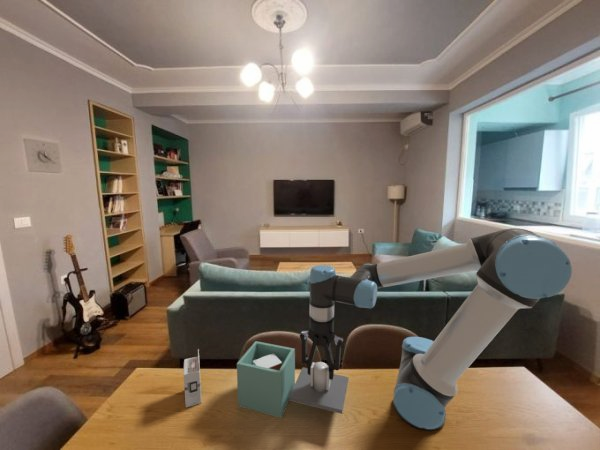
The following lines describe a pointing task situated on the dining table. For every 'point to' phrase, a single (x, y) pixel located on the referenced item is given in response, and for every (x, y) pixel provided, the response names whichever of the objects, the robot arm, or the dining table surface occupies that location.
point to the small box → (269, 362)
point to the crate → (266, 379)
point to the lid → (320, 389)
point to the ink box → (192, 381)
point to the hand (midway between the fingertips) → (320, 385)
